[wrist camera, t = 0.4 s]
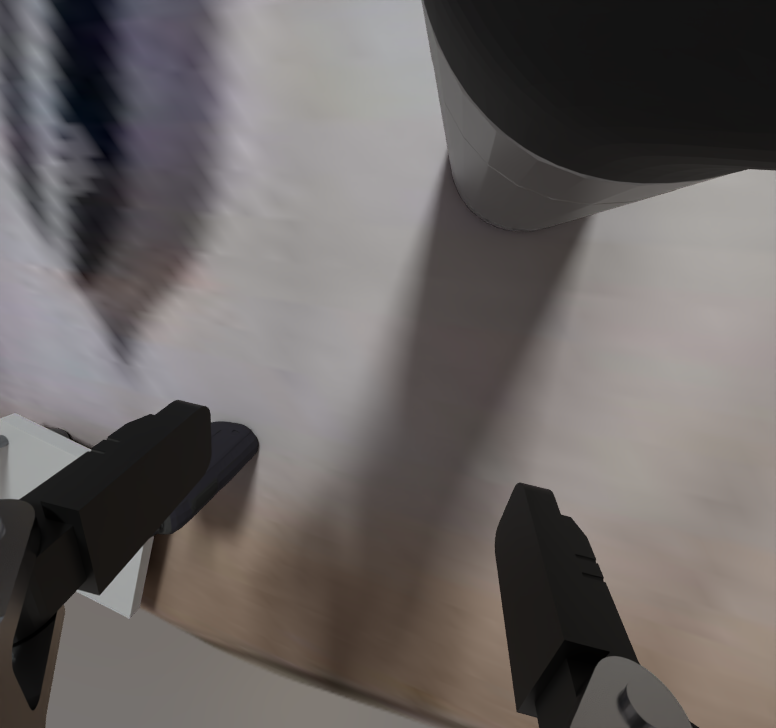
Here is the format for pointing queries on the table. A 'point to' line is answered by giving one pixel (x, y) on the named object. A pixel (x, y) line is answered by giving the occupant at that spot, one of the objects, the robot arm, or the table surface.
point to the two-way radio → (214, 471)
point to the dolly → (36, 465)
